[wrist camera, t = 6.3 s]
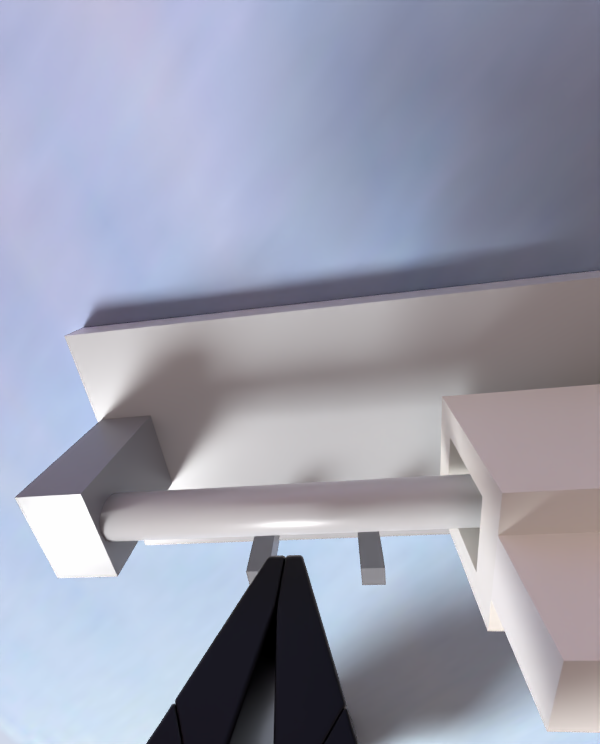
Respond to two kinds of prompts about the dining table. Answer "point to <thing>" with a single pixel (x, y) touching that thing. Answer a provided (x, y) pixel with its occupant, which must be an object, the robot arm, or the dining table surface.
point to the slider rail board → (297, 419)
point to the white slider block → (536, 535)
